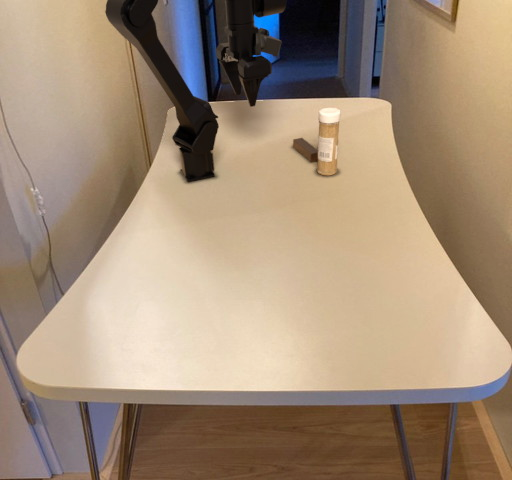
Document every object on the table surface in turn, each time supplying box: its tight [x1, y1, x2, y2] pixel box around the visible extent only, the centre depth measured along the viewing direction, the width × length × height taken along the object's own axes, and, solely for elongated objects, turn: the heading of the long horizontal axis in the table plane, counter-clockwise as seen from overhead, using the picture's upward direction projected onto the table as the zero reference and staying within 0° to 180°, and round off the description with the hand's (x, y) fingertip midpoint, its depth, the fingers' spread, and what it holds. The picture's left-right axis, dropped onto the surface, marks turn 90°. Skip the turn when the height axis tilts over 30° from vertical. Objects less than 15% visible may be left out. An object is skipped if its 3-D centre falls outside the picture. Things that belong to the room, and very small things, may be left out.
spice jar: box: [316, 107, 342, 177], centre depth 119 cm, size 5×5×13 cm
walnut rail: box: [292, 137, 318, 163], centre depth 131 cm, size 2×10×2 cm, turn 21°
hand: (245, 100), depth 123 cm, fingers open, 9 cm apart
